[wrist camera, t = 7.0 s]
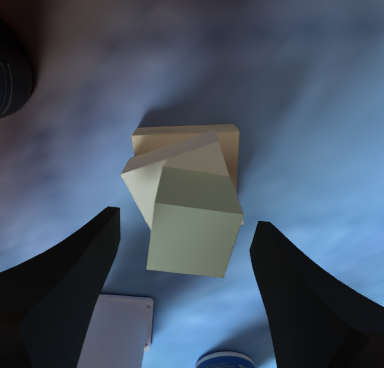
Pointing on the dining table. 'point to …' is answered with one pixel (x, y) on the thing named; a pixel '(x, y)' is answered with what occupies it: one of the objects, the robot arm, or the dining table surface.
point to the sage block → (194, 223)
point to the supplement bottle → (13, 71)
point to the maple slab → (164, 136)
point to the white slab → (176, 158)
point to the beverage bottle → (225, 360)
